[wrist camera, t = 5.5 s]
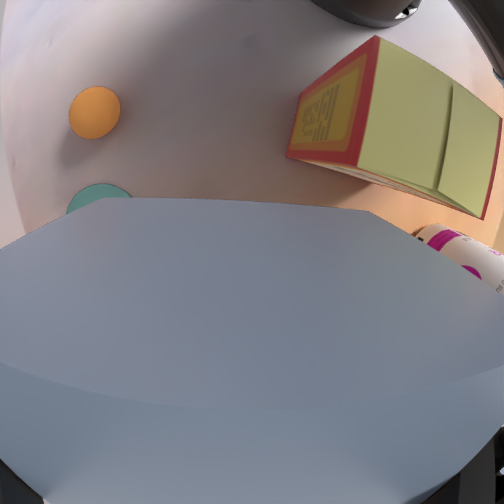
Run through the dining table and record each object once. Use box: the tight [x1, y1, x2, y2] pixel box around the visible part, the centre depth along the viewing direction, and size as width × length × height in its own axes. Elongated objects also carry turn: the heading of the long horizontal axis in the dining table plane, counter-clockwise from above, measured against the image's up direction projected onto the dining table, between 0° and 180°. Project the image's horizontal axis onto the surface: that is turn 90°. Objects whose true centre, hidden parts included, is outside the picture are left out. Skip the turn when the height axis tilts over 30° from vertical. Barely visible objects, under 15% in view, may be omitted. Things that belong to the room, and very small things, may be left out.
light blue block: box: [0, 198, 504, 504], centre depth 8 cm, size 10×10×9 cm
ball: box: [69, 86, 120, 139], centre depth 21 cm, size 5×5×5 cm
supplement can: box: [415, 223, 504, 296], centre depth 23 cm, size 8×8×15 cm
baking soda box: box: [286, 35, 502, 221], centre depth 18 cm, size 10×6×16 cm
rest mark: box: [66, 184, 132, 214], centre depth 27 cm, size 10×10×1 cm
